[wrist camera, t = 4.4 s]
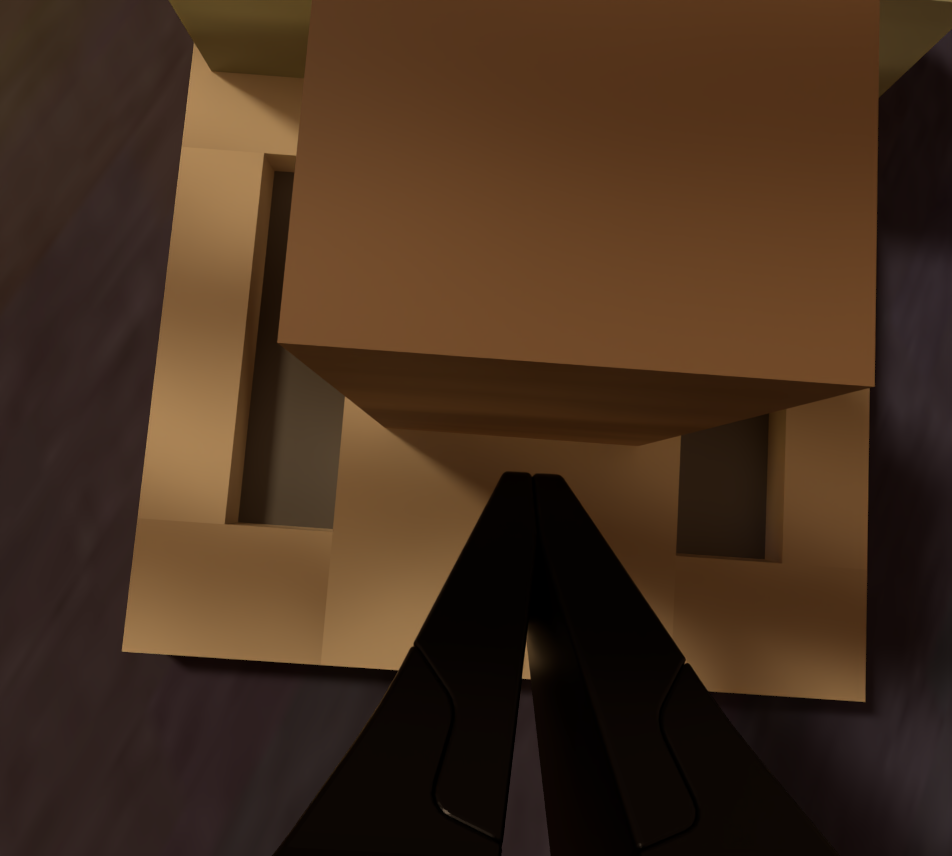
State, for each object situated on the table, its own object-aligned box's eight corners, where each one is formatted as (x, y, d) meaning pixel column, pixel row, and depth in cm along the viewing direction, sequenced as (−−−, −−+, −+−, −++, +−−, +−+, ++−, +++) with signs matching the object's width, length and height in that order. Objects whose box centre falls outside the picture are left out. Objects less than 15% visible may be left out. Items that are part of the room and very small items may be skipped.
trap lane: (835, 686, 16) (1008, 777, 11) (146, 639, 16) (-3, 709, 11) (848, -9, 18) (1002, -209, 13) (227, -59, 18) (131, -282, 13)
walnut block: (638, 445, 16) (874, 387, 7) (385, 428, 16) (276, 342, 7) (648, 242, 16) (880, -72, 7) (402, 223, 16) (324, -117, 7)
